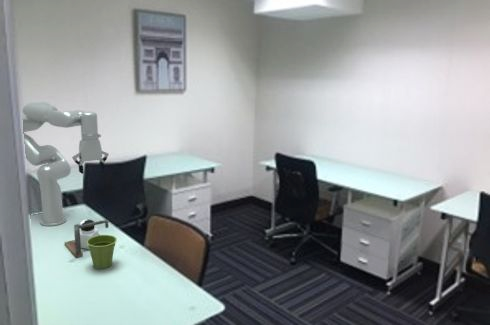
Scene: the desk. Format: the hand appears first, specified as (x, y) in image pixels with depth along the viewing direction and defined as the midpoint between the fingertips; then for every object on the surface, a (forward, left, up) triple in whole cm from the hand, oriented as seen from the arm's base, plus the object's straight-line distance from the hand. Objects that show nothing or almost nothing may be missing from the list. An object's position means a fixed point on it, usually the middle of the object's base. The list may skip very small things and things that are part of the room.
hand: (91, 171), depth 198 cm
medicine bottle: (+18, -10, -30) cm, 36 cm away
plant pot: (+40, -11, -31) cm, 51 cm away
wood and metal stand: (+19, -10, -30) cm, 37 cm away
